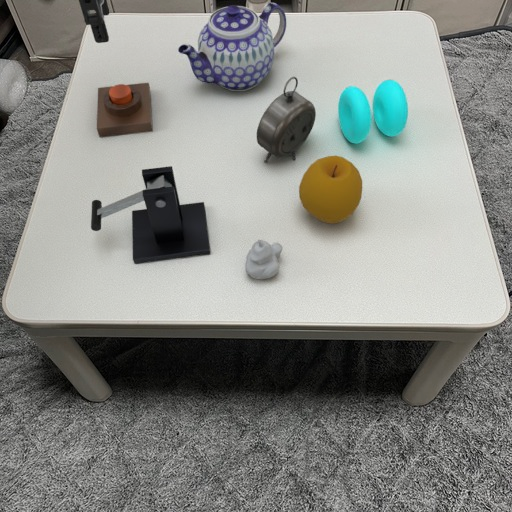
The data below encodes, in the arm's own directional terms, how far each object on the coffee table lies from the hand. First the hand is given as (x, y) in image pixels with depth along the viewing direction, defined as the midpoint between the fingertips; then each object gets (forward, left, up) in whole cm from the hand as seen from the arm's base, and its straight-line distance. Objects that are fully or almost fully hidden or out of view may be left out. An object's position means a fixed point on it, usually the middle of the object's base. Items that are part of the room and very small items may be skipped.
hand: (103, 27), depth 86 cm
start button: (0, 0, -14) cm, 14 cm away
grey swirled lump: (+21, -40, -18) cm, 49 cm away
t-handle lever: (+3, -31, -10) cm, 33 cm away
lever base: (+7, -31, -18) cm, 37 cm away
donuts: (+45, -13, -18) cm, 50 cm away
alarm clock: (+29, -16, -18) cm, 38 cm away
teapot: (+23, +8, -18) cm, 30 cm away
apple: (+33, -31, -18) cm, 49 cm away
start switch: (0, 0, -18) cm, 18 cm away
